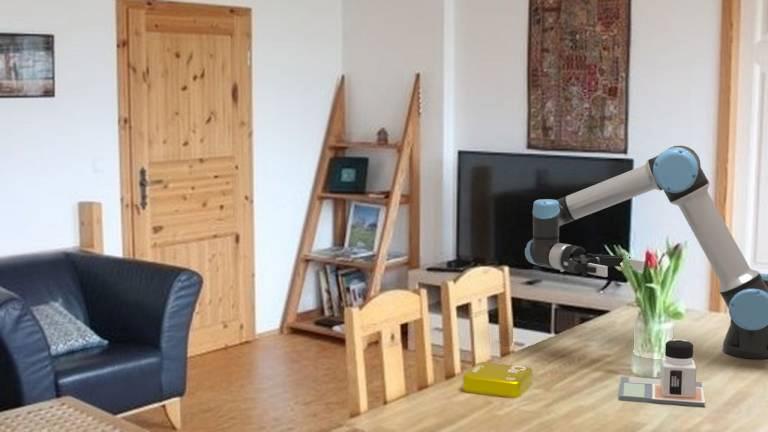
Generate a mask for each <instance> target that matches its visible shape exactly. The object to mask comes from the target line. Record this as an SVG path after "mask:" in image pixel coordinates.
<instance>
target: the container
mask: <svg viewBox="0 0 768 432" xmlns="http://www.w3.org/2000/svg"><path fill="white" fill-rule="evenodd" d="M664 350H665V351H664V353H665V354H664V357H661V363H660V364H661V365H660V367H661V368H660V379H661V391H662V396H666V397H683V398H695V391H696V382H697V366H696V363H695V361H694V344H693V343H692V342H690V341H688V340H686V339H670V340H668V341H665V348H664Z"/></svg>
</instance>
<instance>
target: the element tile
mask: <svg viewBox="0 0 768 432" xmlns="http://www.w3.org/2000/svg"><path fill="white" fill-rule="evenodd" d="M532 385H533V369H532V368H531V367H530V366H521V365H520V366H519V365H513V364H512V365H511V364H501V363H494V362H484V361H483V362H482V361H481V362H478V363H476V364H475V365H474V366H473V367H472V368H470V369H469V370H468V371H466V372H465V373H464V374H463V375H462V391H463V392H465V393H469V394H478V395H484V396H485V395H486V396H496V397H503V398H510V399H511V398H515V399H516V398H520V397H522V395H523V394H524V393H525V392H526V391H528V389H529V388H531V386H532Z"/></svg>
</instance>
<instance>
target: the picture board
mask: <svg viewBox="0 0 768 432" xmlns="http://www.w3.org/2000/svg"><path fill="white" fill-rule="evenodd" d="M619 385H620V386H619V393H618V400H619V401H625V402H626V401H628V402H640V403H652V404H653V403H655V404H668V405H681V406H692V407H693V406H695V407H705V404H706V398H705V394H704V393H705V392H704V387H703V383H702V381H696V391H695V398H683V397H666V396H662V391H661V378H649V377H634V376H633V377H632V376H620V384H619Z"/></svg>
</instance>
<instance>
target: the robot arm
mask: <svg viewBox="0 0 768 432" xmlns="http://www.w3.org/2000/svg"><path fill="white" fill-rule="evenodd" d="M709 186H710V182H709V179H708V178H707V176H706V174H705V172H704V170H703V168H702V166H701V160H700V157H699V155H698V154H697V153H696V151H694V149H692V148H690V147H688V146H686V145H674V146H671V147H669V148H667V149H665V150H663V151H662V152H660V154H658V155H656V156H654V157H652V158H649V159H647V160H646V163H645V164H644V165H640V166H639V167H636V168H634V169H631V170H628V171H626V172H623V173H621V174H619V175H616V176H613V177H611V178H608V179H605V180H604V181H601V182H599V183H596V184H594V185H591V186H588V187H587V188H583V189H581V190H579V191H575V192H573V193H570V194H569V195H566V196H564V197H562V198H561V197H560V198H559V199H550V198H546V199H545V198H544V199H543V198H542V199H537V200H535V201H534V202H533V207H532V213H531V214H532V239H531V240H529V241H528V242H527V243H526V247H525V248H524V255H525V259H526V260H527V261H528V262H529V263H530V264H533V265H536V266H537V267H538V266H539V267H542V268H543V267H544V268H548V269H549V268H550V269H555V270H559V271H560V272H561V273H563V272H568V273H571V274H572V273H573V274H577V275H578V274H581V275H582V277H586V276H588V275H587V274H589V275H594V276H599V277H603V278H606V277H608V268H609V267H615V268H616V267H618V268H619V267H621V265H620V263H621V262H622V260H623V258H622V257H621V256H622V255H611V254H601V253H596V254H593V253H587V251H586V249H585V248H584V247H582V246H578V245H573V244H568V243H561V242H560V227H561V226H563V225H565V224H568V223H570V222H573V221H575V220H578V219H580V218H583V217H585V216H588V215H592V214H593V213H596V212H599V211H601V210H603V209H606V208H609V207H612V206H614V205H617V204H620V203H622V202H625V201H628V200H630V199H633V198H635V197H638V196H641V195H642V194H646V193H648V192H650V191H654V190H657V191H659V192H660V191H663V192H664V194H665V196H666V197H667V199H668V201H669V203H670V204H672V205H675V206H677V207H678V208H679V210H680V211H681V213H682V214H683V216H684V218H685V220H686V222H687V224H688V226H689V227H690V230H691V231H692V233H693V235H694V237H695V238H696V241H697V242H698V244H699V246H700V247H701V250H702V251H703V253H704V255H705V256H706V259H707V260H708V262H709V263H710V266H711V267H712V269H713V271H714V273H715V275H716V276H717V278H718V280H719V282H720V286H719V290H718V291H719V293H720V295H721V298H722V299H723V301H724V303H725V305H726V307H727V308H728V313H729V318H730V321H729V322H730V323H729V325H728V326H729V327H728V329H727V332H726V334H725V337H724V339H723V343H722V351H723V352H724V353H726V354H728V355H730V356H734V357H738V358H744V359H751V360H752V359H754V360H755V359H756V360H758V359H759V360H765V359H766V360H767V359H768V273H761V272H759V271H757V270H754V269H752V268H751V267H750V266H749V264H748V262H747V261H746V259H745V257H744V255H743V253H742V251H741V249H740V247H739V245H738V244H737V242H736V240H735V238H734V237H733V235H732V233H731V231H730V230H729V227H728V226H727V224H726V222H725V220H724V218H723V217H722V215H721V213H720V212H719V209H718V208H717V206H716V205H715V203H714V200H713V199H712V197H711V195H710V193H709V192H708V190H709V188H710V187H709ZM626 255H627V256H629V255H628V254H626ZM628 259H629V261H630V263H631V265H632V267H633V268H634V269H632V270H633V271H637V272H638V271H640V272H644V270H645V260H641V259H635V258H632V257H631V256H629V258H628ZM624 262H626V260H624ZM621 268H622V267H621ZM643 268H644V269H643Z"/></svg>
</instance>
